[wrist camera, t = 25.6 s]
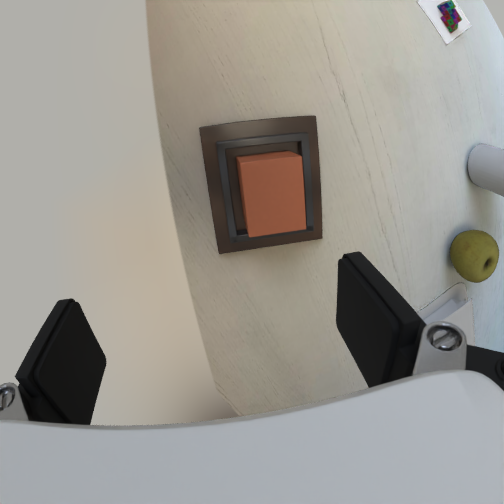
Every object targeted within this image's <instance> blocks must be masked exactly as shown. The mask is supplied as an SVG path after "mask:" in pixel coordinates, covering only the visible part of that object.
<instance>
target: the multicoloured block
mask: <svg viewBox="0 0 504 504" xmlns="http://www.w3.org/2000/svg"><path fill="white" fill-rule="evenodd" d="M417 3H418V4H419V5H420V6H421V8H422V9H423V11H424V12H425V13H426V15H427V16H428V17H429V19H430V20H431V22H432V23H433V25H434V26H435V28H436V29H437V31H438V32H439V34H440V35H441V37H442V38H443V40H444V41H445V43H446V45H447V44H448V43H450V42H451V41H452V40H454V39H455V38H456V37H457V36H459V35H460V34H461V33H463V32H464V31H465V30H467V29H468V28H469V27H470V26H471V24H470V23H469V21H468V19H467V18H466V16H465V15H464V13H463V11H462V10H461V8H460V7H459V5H458V4H457V2H456V1H455V0H419V1H417Z"/></svg>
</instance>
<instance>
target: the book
mask: <svg viewBox="0 0 504 504" xmlns="http://www.w3.org/2000/svg"><path fill="white" fill-rule="evenodd" d="M417 314H418V315H419V316H420V317H421V318H422V320H423V321H424V322H425V323H426V324H427V325H428V324H430V323H432V322H436V321H446V322H450V323H453V324H455V325H456V326H458V327H459V328H461V329H462V330H463V332H464V333H465V335H466V339H467V344H468V345H472V346H475V333H474V316H473V304H472V298H471V299H470V300H469V301H468V297H467V289H466V286H465V284H464V283H458V284H456V285H454V286H452V287H451V288H450V289H448V290H447V291H446V292H445V293H443V294H442V295H441V296H439V297H438V298H437V299H436V300H434V301H433V302H432V303H430V304H429V305H428V306H426V307H425V308H423V309H422V310H421V311H419V312H418V313H417Z"/></svg>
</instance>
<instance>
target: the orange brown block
mask: <svg viewBox="0 0 504 504" xmlns="http://www.w3.org/2000/svg"><path fill="white" fill-rule="evenodd" d="M236 162H237V170H238V177H239V185H240V193H241V201H242V209H243V217H244V222H245V225H246V229H247V232H248V235H249V237H256V236H263V235H270V234H276V233H283V232H290V231H297V230H304V229H306V213H305V195H304V180H303V166H302V156H300V155H298V154H296V153H293V152H291V151H289V150H287V151H277V152H267V153H259V154H250V155H242V156H236Z"/></svg>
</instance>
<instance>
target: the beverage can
mask: <svg viewBox="0 0 504 504" xmlns="http://www.w3.org/2000/svg"><path fill="white" fill-rule="evenodd" d="M468 171H469V175H470V178H471V180H472V182H473V183H474V184H476V185H477V186H480V187H482V188H485V189H487V190H489V191H492V192H494V193H496V194H499V195H501V196H503V197H504V149H501V148H498V147H494V146H490V145H486V144H478V145H476V146H475V147H474V149H473V150H472V152H471V153H470V155H469V158H468Z"/></svg>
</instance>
